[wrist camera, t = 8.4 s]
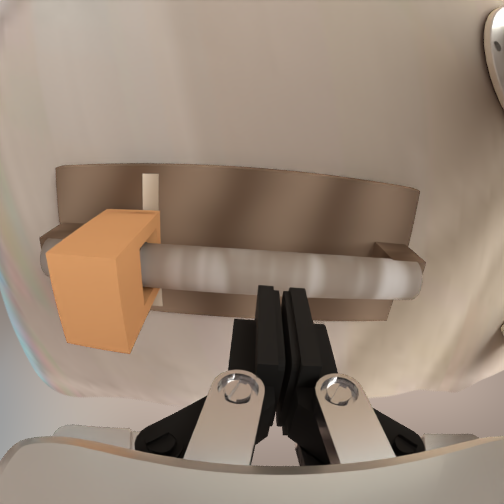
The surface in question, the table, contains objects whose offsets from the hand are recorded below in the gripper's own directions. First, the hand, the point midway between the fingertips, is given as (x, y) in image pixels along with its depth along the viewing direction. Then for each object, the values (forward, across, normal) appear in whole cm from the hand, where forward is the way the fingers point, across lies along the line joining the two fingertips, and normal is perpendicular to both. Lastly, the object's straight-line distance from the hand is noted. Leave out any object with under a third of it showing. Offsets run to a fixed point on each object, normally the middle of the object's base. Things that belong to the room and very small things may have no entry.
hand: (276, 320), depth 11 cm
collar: (+8, +8, +1) cm, 11 cm away
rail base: (+9, +2, +1) cm, 10 cm away
